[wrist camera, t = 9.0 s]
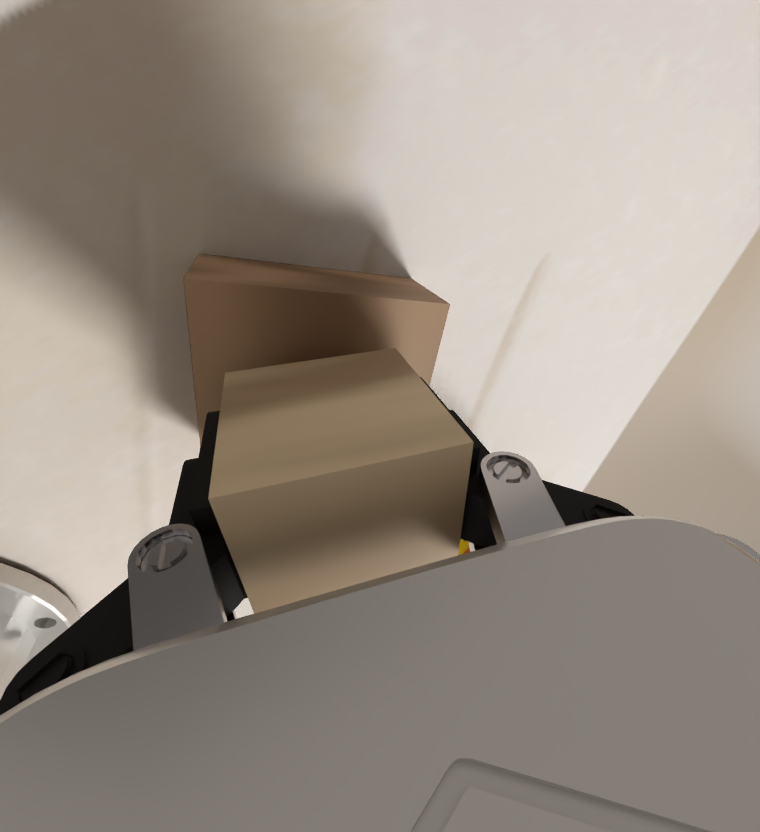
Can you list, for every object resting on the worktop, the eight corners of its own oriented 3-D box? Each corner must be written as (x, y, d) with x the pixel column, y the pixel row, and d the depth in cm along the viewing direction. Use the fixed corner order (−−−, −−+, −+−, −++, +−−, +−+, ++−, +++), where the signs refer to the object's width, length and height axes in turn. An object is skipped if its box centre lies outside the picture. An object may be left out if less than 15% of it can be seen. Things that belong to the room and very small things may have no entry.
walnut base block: (214, 438, 17) (206, 499, 14) (200, 252, 13) (183, 278, 10) (379, 433, 20) (403, 484, 16) (409, 277, 16) (449, 304, 12)
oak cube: (225, 372, 10) (208, 499, 6) (395, 347, 11) (473, 442, 7) (262, 499, 13) (266, 643, 9) (396, 470, 14) (453, 586, 10)
